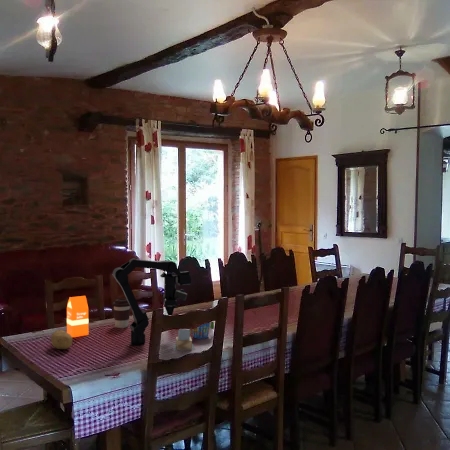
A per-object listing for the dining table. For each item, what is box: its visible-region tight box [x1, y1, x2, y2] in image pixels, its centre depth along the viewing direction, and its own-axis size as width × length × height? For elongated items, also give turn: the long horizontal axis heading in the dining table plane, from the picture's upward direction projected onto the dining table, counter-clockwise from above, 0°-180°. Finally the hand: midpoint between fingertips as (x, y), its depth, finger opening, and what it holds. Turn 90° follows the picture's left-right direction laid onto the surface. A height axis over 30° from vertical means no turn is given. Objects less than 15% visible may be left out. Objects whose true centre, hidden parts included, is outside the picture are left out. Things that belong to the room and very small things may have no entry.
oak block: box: [175, 336, 193, 350], centre depth 241 cm, size 7×7×4 cm
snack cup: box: [190, 321, 215, 340], centre depth 260 cm, size 16×10×10 cm
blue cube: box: [177, 329, 191, 340], centre depth 241 cm, size 5×5×5 cm
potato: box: [50, 329, 73, 350], centre depth 238 cm, size 10×14×8 cm
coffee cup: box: [112, 298, 131, 329], centre depth 281 cm, size 10×10×15 cm
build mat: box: [172, 343, 196, 352], centre depth 241 cm, size 10×10×1 cm
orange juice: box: [66, 295, 89, 338], centre depth 263 cm, size 8×9×20 cm
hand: (169, 316), depth 254 cm, fingers open, 9 cm apart
